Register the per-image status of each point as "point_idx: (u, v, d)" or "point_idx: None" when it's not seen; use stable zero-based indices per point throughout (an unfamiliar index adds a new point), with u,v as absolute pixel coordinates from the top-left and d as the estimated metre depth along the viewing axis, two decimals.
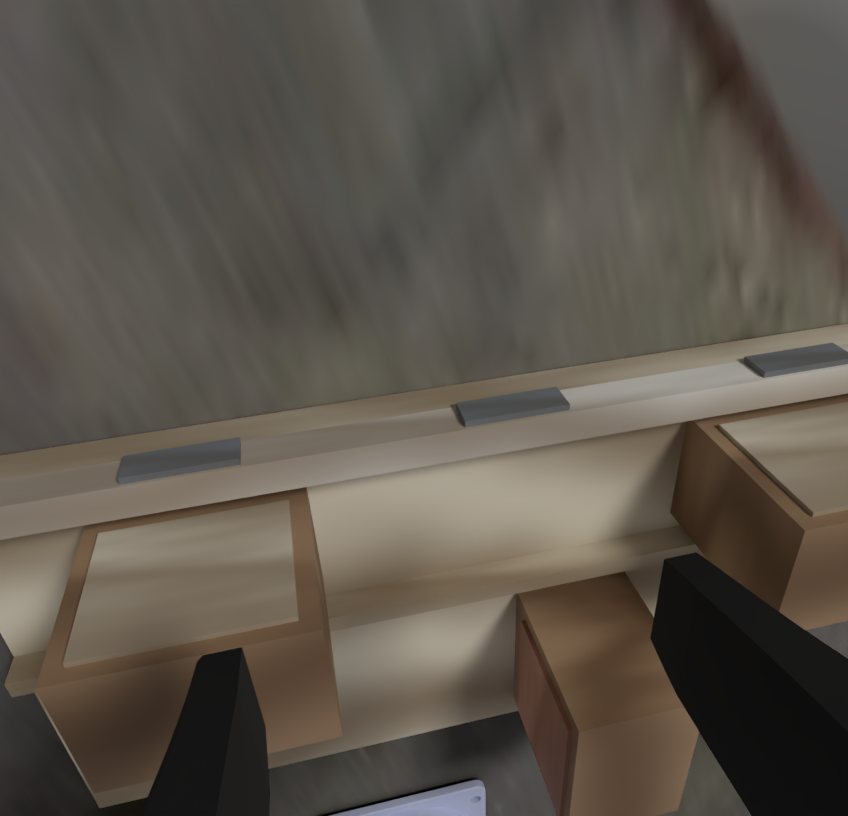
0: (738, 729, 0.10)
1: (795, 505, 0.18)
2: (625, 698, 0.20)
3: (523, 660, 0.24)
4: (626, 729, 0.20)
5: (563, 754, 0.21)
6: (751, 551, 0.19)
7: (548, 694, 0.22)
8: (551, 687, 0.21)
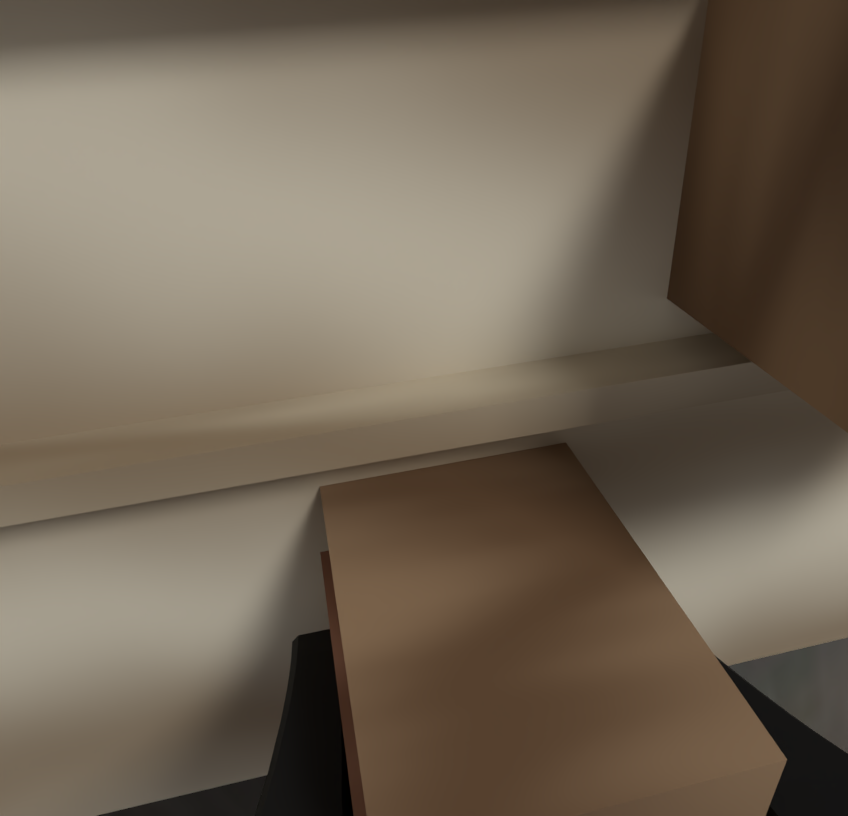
0: None
1: None
2: (536, 750, 0.07)
3: None
4: None
5: None
6: None
7: None
8: (345, 715, 0.08)
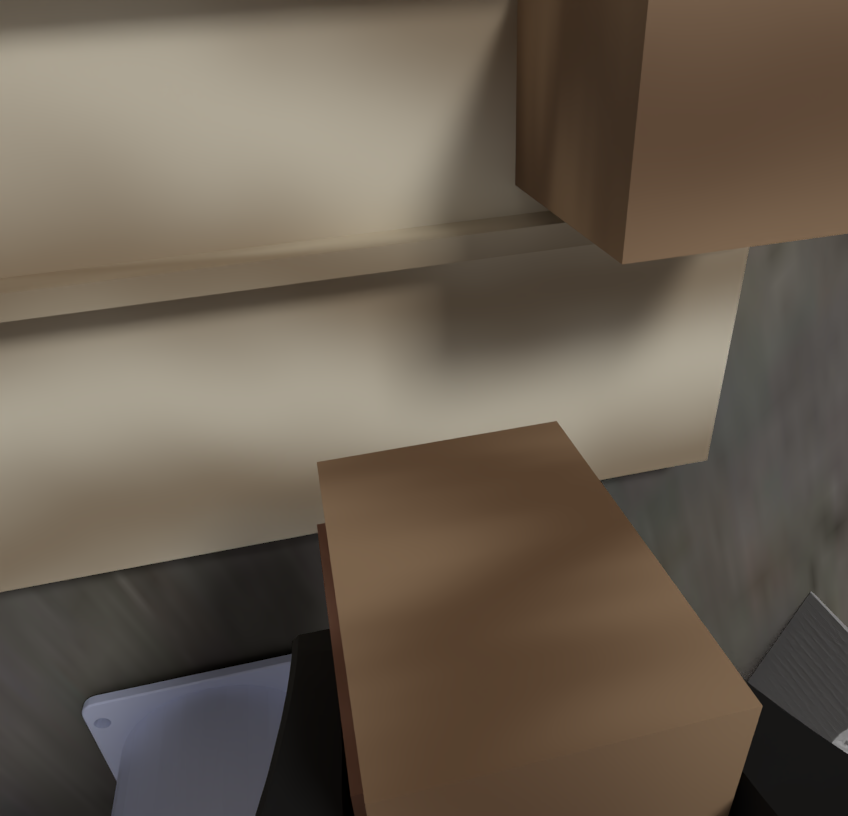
0: None
1: None
2: (522, 697, 0.07)
3: None
4: (519, 792, 0.07)
5: None
6: (593, 125, 0.12)
7: None
8: (340, 672, 0.08)
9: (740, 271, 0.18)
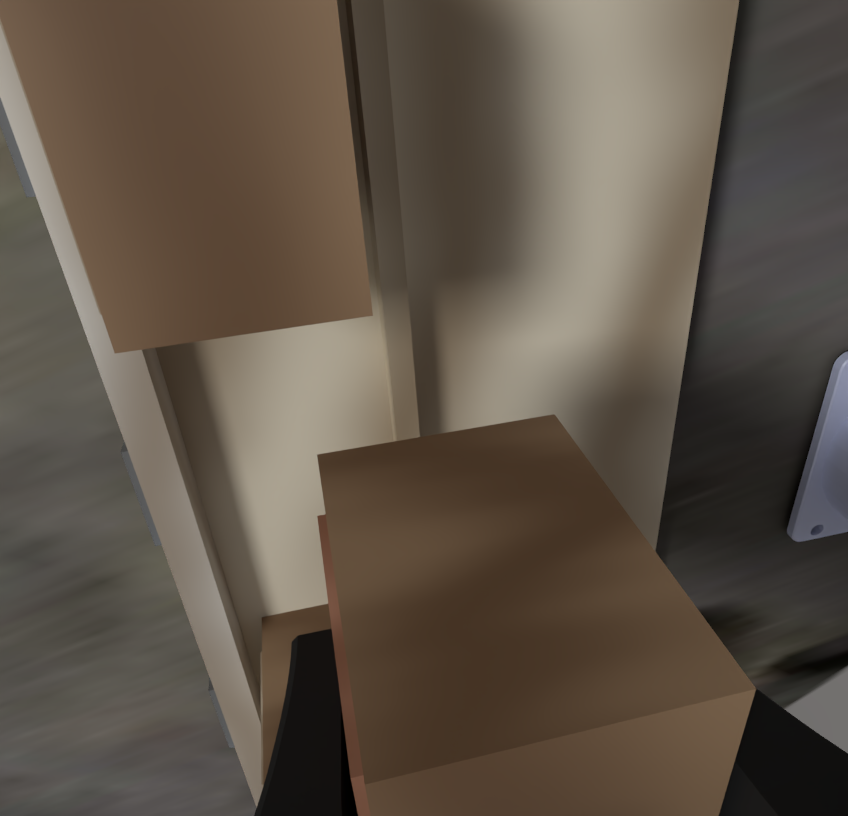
0: None
1: None
2: (519, 683, 0.07)
3: None
4: (516, 774, 0.07)
5: None
6: None
7: None
8: (340, 658, 0.08)
9: None
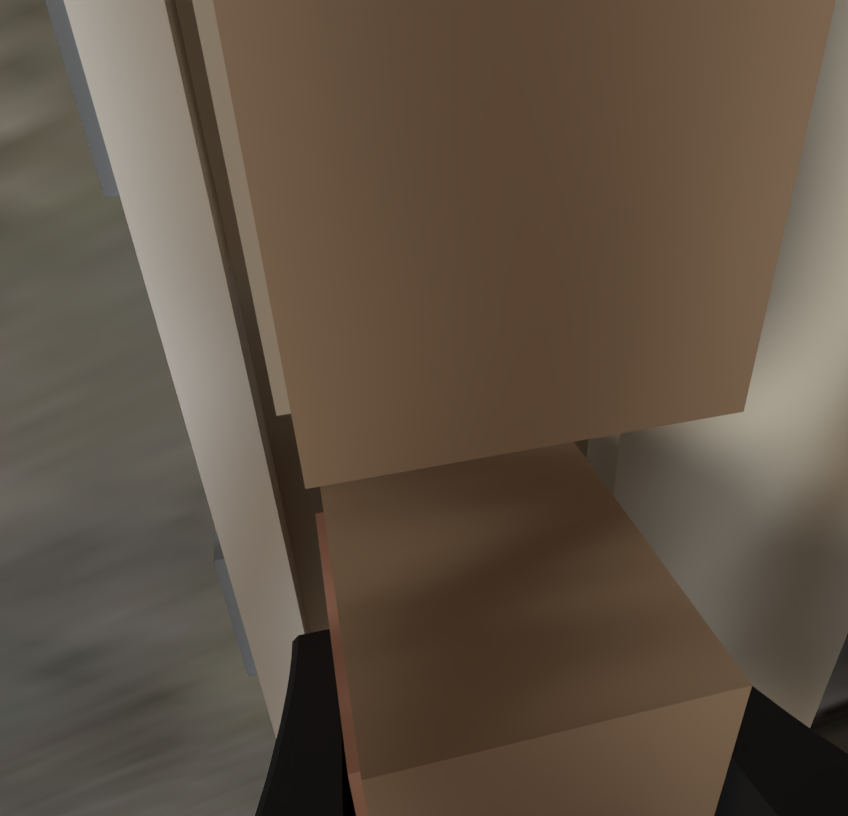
0: None
1: None
2: (516, 678, 0.07)
3: None
4: (513, 769, 0.07)
5: None
6: None
7: None
8: (337, 655, 0.08)
9: None
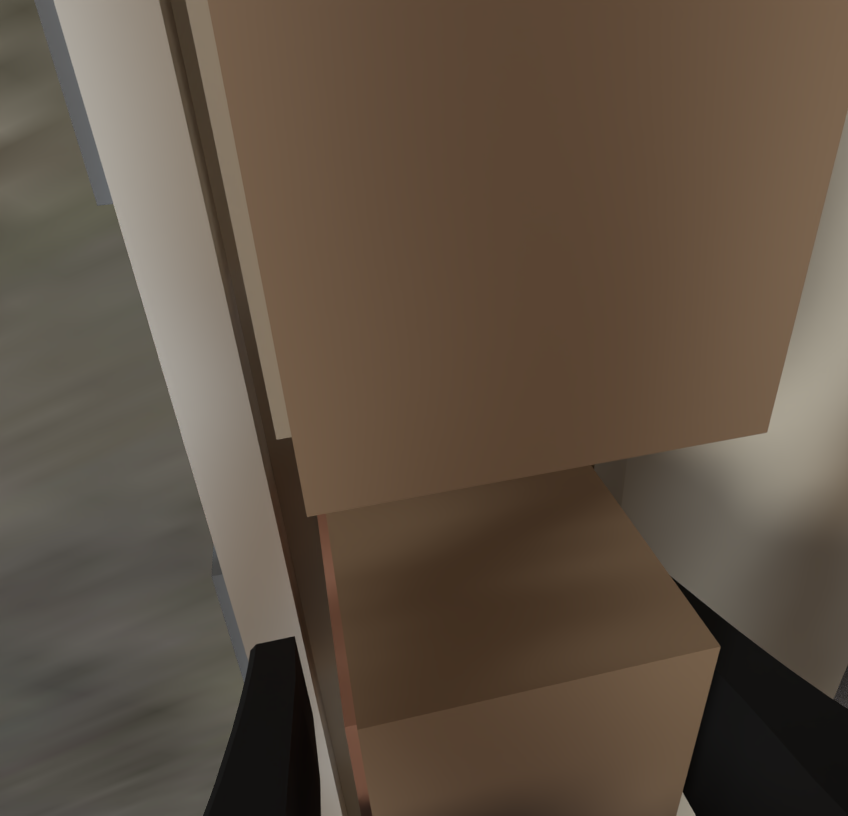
0: None
1: None
2: (502, 640, 0.08)
3: None
4: (498, 722, 0.07)
5: (356, 787, 0.08)
6: None
7: None
8: (335, 621, 0.09)
9: None
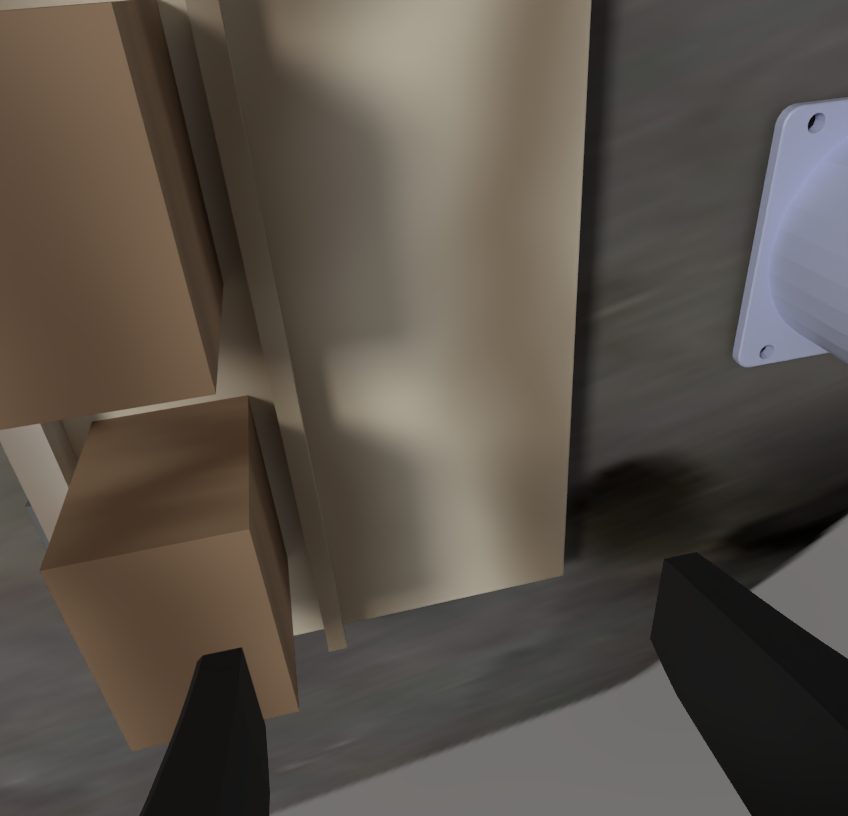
0: (738, 729, 0.10)
1: None
2: None
3: None
4: None
5: None
6: None
7: None
8: None
9: None
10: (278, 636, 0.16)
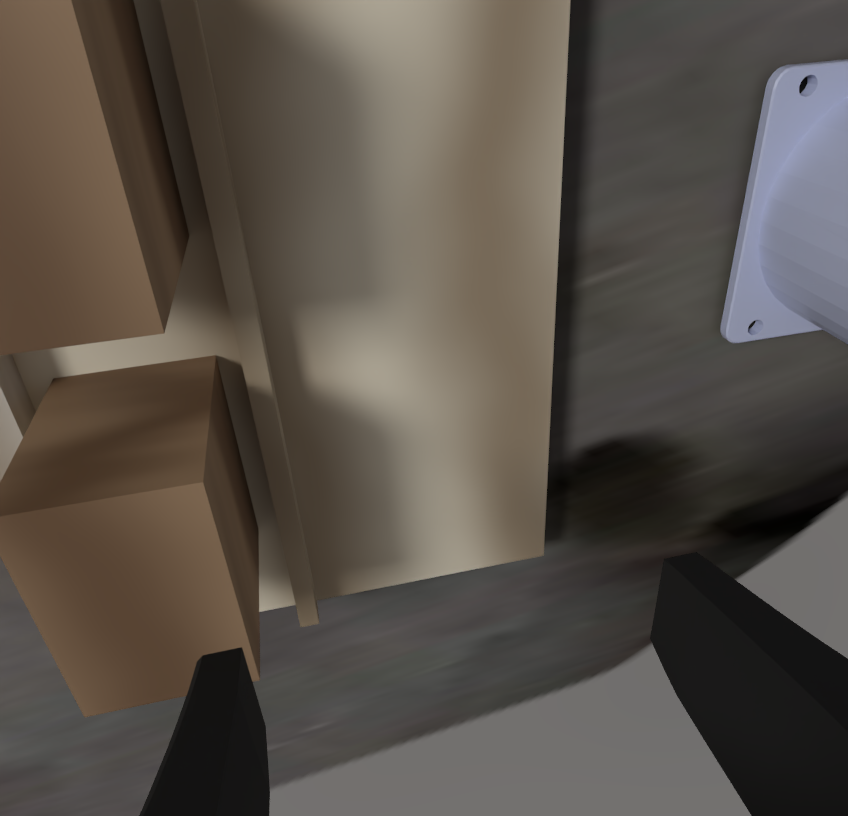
0: (738, 729, 0.10)
1: None
2: None
3: None
4: None
5: None
6: None
7: None
8: None
9: None
10: (236, 599, 0.15)
